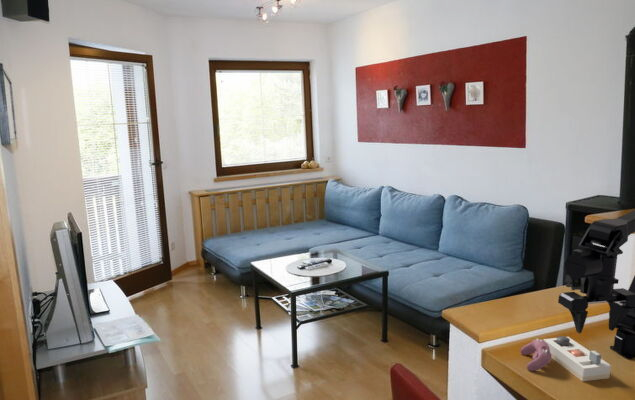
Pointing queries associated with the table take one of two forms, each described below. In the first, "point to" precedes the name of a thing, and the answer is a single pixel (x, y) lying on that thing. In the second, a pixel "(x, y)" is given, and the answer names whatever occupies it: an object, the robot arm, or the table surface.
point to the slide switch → (595, 357)
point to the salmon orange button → (577, 353)
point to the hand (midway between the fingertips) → (594, 331)
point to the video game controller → (537, 354)
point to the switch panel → (578, 361)
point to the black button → (563, 341)
